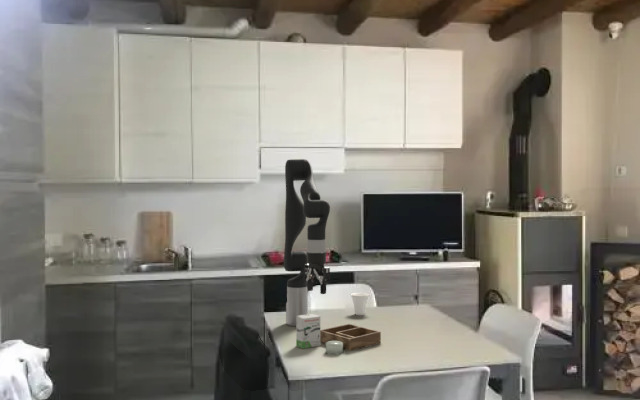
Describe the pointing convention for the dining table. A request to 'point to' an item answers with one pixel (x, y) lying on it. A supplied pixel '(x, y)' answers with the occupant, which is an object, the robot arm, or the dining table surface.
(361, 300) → the cup
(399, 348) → the dining table surface
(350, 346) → the organizer
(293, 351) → the dining table surface
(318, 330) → the ink box
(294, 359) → the dining table surface
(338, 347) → the white domed round part
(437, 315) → the dining table surface
